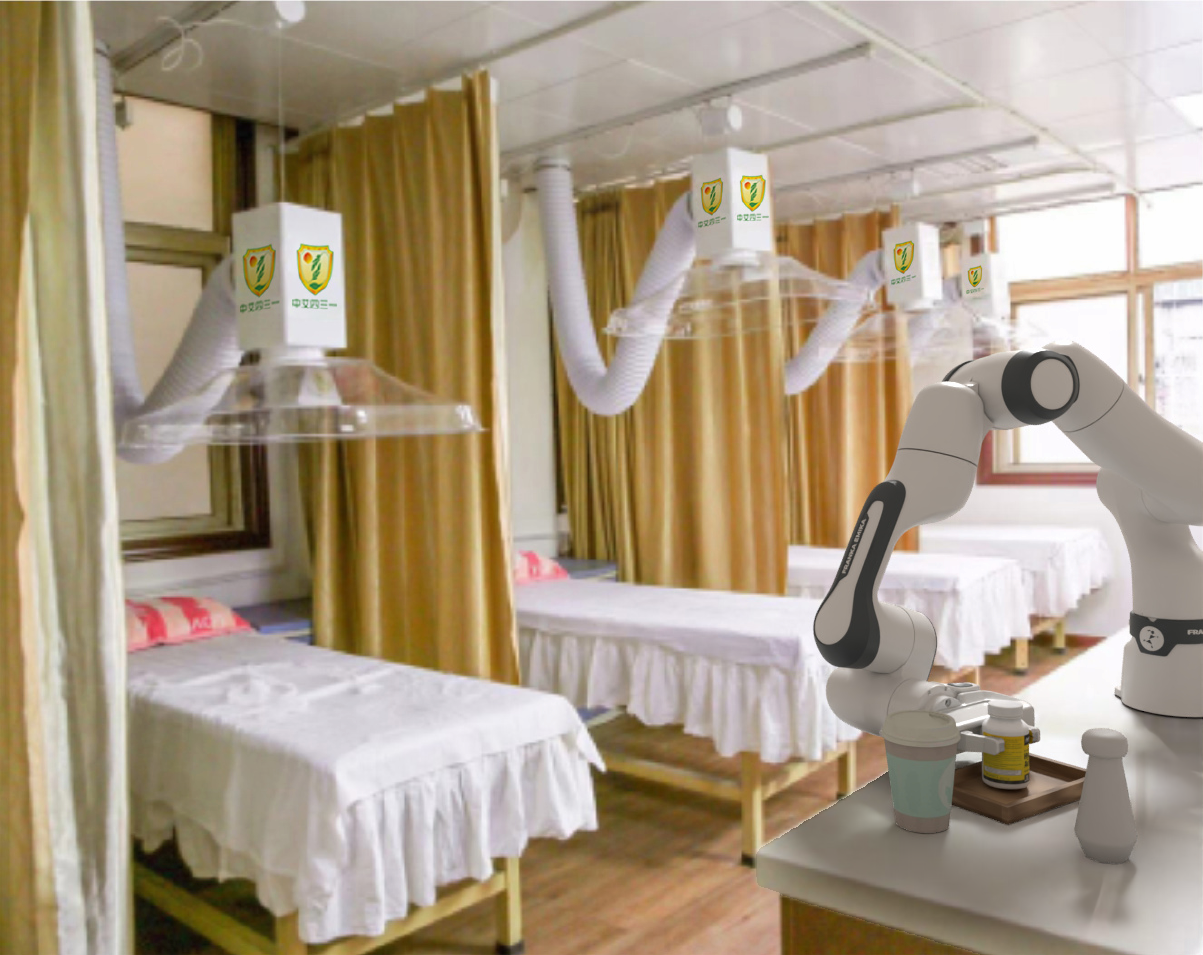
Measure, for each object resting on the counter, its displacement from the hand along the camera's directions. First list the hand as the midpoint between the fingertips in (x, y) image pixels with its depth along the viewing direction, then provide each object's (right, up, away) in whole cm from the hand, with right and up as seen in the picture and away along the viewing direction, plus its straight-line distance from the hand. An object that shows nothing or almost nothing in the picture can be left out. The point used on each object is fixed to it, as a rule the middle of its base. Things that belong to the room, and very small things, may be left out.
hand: (1019, 741), depth 126 cm
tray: (0, -6, +1) cm, 6 cm away
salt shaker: (+2, -7, -18) cm, 19 cm away
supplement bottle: (-1, -6, +2) cm, 6 cm away
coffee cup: (-14, -8, -7) cm, 17 cm away
